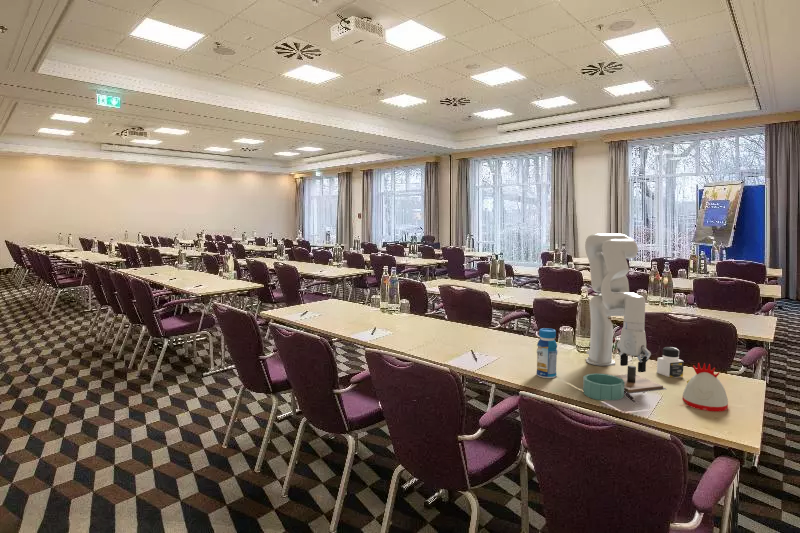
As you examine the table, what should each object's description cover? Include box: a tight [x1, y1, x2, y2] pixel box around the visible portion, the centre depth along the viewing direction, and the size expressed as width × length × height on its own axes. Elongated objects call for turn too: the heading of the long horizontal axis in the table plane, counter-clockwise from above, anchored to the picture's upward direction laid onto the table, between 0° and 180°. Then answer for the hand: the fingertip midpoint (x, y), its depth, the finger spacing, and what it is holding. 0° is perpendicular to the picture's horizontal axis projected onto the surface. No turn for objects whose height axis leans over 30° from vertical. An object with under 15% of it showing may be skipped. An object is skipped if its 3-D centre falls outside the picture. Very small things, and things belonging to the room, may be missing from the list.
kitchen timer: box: [682, 362, 729, 412], centre depth 176 cm, size 14×14×15 cm
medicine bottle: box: [656, 346, 684, 379], centre depth 208 cm, size 7×7×12 cm
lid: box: [615, 365, 664, 392], centre depth 196 cm, size 16×16×7 cm
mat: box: [625, 387, 667, 394], centre depth 196 cm, size 18×18×1 cm
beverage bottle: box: [536, 327, 558, 379], centre depth 208 cm, size 8×8×20 cm
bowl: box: [582, 372, 625, 402], centre depth 185 cm, size 14×14×6 cm
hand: (632, 368), depth 195 cm, fingers open, 9 cm apart
